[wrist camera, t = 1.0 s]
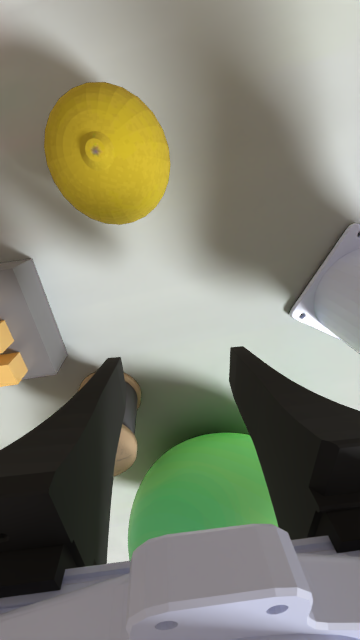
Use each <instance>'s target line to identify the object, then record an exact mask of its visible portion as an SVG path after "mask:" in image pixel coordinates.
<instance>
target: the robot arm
mask: <svg viewBox="0 0 360 640" xmlns="http://www.w3.org/2000/svg"><path fill="white" fill-rule="evenodd" d="M359 231H360V224H357V223H353V224H351V225H349V226H348V227H347V229H346V230H345V232H344V233H343V235H342V236H341V238H340V239H339V241H338V242H337V243H336V245H335V246H334V248H333V249H332V251H331V252H330V254H329V255H328V257H327V258H326V259H325V261H324V262H323V264H322V265H321V267H320V268H319V270H318V271H317V273H316V274H315V275H314V277H313V278H312V280H311V281H310V283H309V284H308V286H307V287H306V289H305V290H304V291H303V293H302V294H301V296H300V297H299V299H298V300H297V302H296V303H295V305H294V306H293V307H292V309H291V311H290V316H291V317H292V318H293V319H295V320H298V321H300V322H302V323H304V324H307V325H309V326H311V327H313V328H316V329H318V330H320V331H322V332H325V333H327V334H329V335H331V336H334V337H336V338H338V339H340V340H342V341H344V342H345V343H346V344H347V345H349V346H350V347H351V348H353V349H354V350H355V351H356V352H358V353H359V354H360V235H359V236H358V237H357V234H358V232H359ZM302 313H303V315H302V316H301V317H299V316H300V314H302ZM229 382H230V386H231V389H232V393H233V396H234V399H235V402H236V404H237V406H238V409H239V411H240V413H241V416H242V418H243V420H244V423H245V425H246V427H247V429H248V432H249V434H250V436H251V439H252V441H253V444H254V446H255V449H256V452H257V455H258V459H259V462H260V465H261V468H262V471H263V475H264V478H265V481H266V484H267V488H268V491H269V495H270V498H271V502H272V505H273V509H274V512H275V516H276V519H277V523H278V527H277V526H275V525H273V524H247V525H238V526H230V527H222V528H214V529H206V530H198V531H190V532H182V533H174V534H166V535H163V536H159V537H155V538H152V539H149V540H147V541H146V542H144V543H143V544H142V545H140V546H139V547H137V548H136V549H135V550H134V552H133V554H132V558H131V561H125V562H117V563H110V564H106V563H107V547H108V533H109V520H110V507H111V496H112V485H113V475H114V466H115V459H116V453H117V448H118V443H119V438H120V433H121V428H122V424H123V419H124V414H125V407H126V393H127V389H126V384H125V378H124V373H123V367H122V362H121V357H116V358H108V359H107V360H106V361H105V362H104V363H103V364H102V366H101V367H100V368H99V369H98V370H97V372H96V373H95V374H94V375H93V376H92V377H91V378H90V380H89V381H88V382H87V383H86V384H85V385H84V386H83V387H82V388H81V389H80V390H79V391H78V392H77V393H76V394H75V395H74V396H73V398H71V399H70V400H69V401H68V402H67V403H66V404H65V405H64V406H63V407H61V408H60V409H59V410H58V411H57V412H56V413H54V414H53V415H52V416H51V417H49V418H48V419H47V420H45V421H44V422H42V423H41V424H40V425H38V426H37V427H36V428H34V429H33V430H32V431H30V432H29V433H27V434H26V435H24V436H23V437H21V438H20V439H18V440H16V441H15V442H13V443H12V444H10V445H8V446H7V447H5V448H3V449H2V450H0V640H360V411H358V410H355V409H352V408H349V407H347V406H344V405H341V404H339V403H336V402H334V401H332V400H329V399H327V398H325V397H322V396H320V395H318V394H316V393H314V392H312V391H310V390H308V389H306V388H304V387H302V386H300V385H298V384H297V383H295V382H293V381H291V380H290V379H288V378H286V377H285V376H283V375H282V374H280V373H279V372H277V371H276V370H274V369H273V368H271V367H270V366H268V365H267V364H266V363H264V362H263V361H262V360H260V359H259V358H258V357H256V356H255V355H254V354H252V353H251V352H250V351H248V350H247V349H246V348H244V347H243V346H242V347H231V351H230V373H229Z"/></svg>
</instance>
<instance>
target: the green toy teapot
mask: <svg viewBox="0 0 360 640" xmlns="http://www.w3.org/2000/svg"><path fill="white" fill-rule="evenodd" d="M247 524H273V525H275V526H277V527H278V523H277V519H276V516H275V512H274V509H273V505H272V502H271V498H270V495H269V491H268V488H267V484H266V481H265V478H264V475H263V471H262V468H261V465H260V462H259V459H258V455H257V452H256V449H255V446H254V444H253V441H252V439H251V436H250V435H247V434H241V433H213V434H206V435H201V436H198V437H194V438H191V439H189V440H186V441H184V442H182V443H180V444H178V445H176V446H174V447H173V448H171V449H170V450H168V451H167V452H166V453H164V454H163V455H162V456H161V457H160V458H159V459H158V460H157V461H156V462H155V463H154V464H153V466H152V467H151V468H150V469H149V471H148V472H147V474H146V475H145V477H144V479H143V480H142V482H141V484H140V486H139V489H138V491H137V493H136V496H135V499H134V502H133V506H132V510H131V514H130V520H129V528H128V551H129V560H130V561H131V558H132V554H133V552H134V550H135V549H136V548H137V547H139V546H140V545H142V544H143V543H144V542H146V541H147V540H149V539H152V538H155V537H159V536H163V535H166V534H174V533H182V532H190V531H198V530H206V529H214V528H222V527H230V526H238V525H247Z"/></svg>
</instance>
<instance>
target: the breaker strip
mask: <svg viewBox="0 0 360 640" xmlns="http://www.w3.org/2000/svg"><path fill="white" fill-rule="evenodd" d="M67 355H68V354H67V351H66V348H65V345H64V343H63V340H62V337H61V335H60V332H59V329H58V327H57V324H56V321H55V319H54V316H53V313H52V310H51V308H50V305H49V302H48V300H47V297H46V294H45V292H44V289H43V286H42V284H41V281H40V278H39V275H38V273H37V270H36V267H35V265H34V262H33V259H25V260H18V261H10V262H3V263H0V387H2V386H9V385H16V384H19V382H20V381H21V380H23V379H30V378H37V377H44V376H51V375H56V374H57V372H58V371H59V369H60V367H61V365H62V364H63V362H64V360H65V358H66V356H67Z"/></svg>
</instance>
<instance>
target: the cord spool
mask: <svg viewBox="0 0 360 640" xmlns="http://www.w3.org/2000/svg"><path fill="white" fill-rule="evenodd" d="M95 373H96V372H94V373H92V374H90V375H89V376H87V377H86V378H85V379H84V380H83V382H82V383H81V385H80V387H79V390H80V389H81V388H82V387H83V386H84V385H85V384H86V383H87V382H88V381H89V380H90V378H91V377H92V376H93V375H94V374H95ZM124 378H125V384H126V389H127V393H126V407H125V414H124V419H123V424H122V428H121V433H120V438H119V443H118V448H117V453H116V459H115V466H114V475H113V476H116V475H119V474H121V473H123V472H124V471H126V470H127V469H129V468H130V467H131V466H132V464H133V463H134V461H135V459H136V456H137V440H136V437H135V435H134V433H135V423H136V412H137V410H138V408H139V406H140V403H141V389H140V387H139V385H138V383H137V382H136V381H135V379H133V378H132V377H131V376H129V375H128V374H126V373H124ZM79 390H78V391H79Z"/></svg>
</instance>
